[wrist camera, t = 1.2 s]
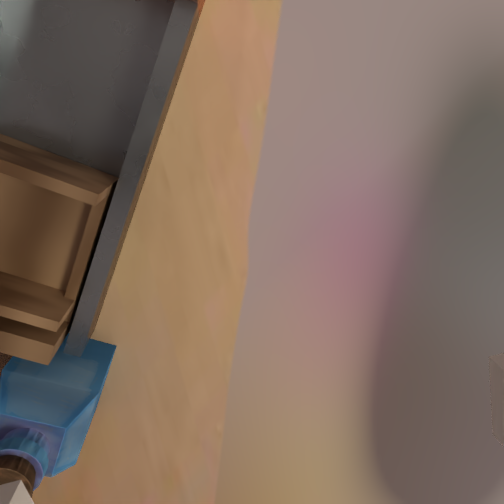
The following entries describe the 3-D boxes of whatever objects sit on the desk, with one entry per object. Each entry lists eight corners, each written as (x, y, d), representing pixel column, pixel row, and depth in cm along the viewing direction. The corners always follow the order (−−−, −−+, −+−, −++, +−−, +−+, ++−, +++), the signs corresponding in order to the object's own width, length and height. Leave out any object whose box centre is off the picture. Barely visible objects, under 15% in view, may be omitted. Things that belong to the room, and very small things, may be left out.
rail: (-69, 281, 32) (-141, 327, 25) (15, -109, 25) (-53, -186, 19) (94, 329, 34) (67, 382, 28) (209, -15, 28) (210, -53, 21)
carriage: (-56, 289, 31) (-115, 330, 25) (-19, 126, 28) (-77, 131, 22) (72, 326, 33) (43, 372, 27) (119, 178, 30) (98, 194, 24)
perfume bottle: (116, 345, 35) (73, 459, 24) (96, 407, 37) (46, 541, 25) (37, 324, 34) (-48, 434, 22) (20, 389, 35) (-68, 521, 24)
